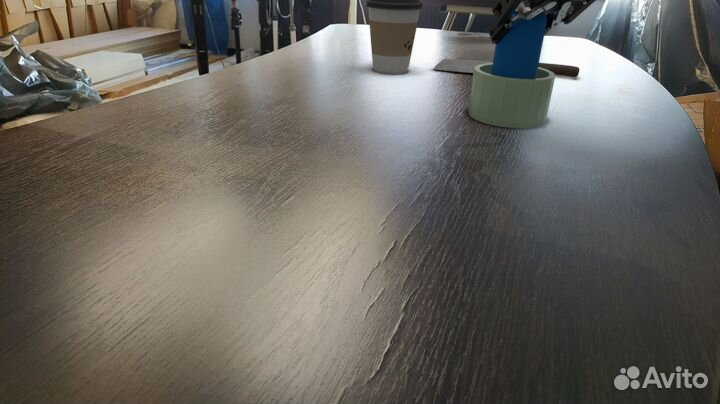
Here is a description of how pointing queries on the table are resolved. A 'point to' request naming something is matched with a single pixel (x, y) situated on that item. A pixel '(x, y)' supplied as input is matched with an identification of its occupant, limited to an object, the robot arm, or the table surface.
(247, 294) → the table surface
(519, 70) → the beverage can
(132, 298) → the table surface
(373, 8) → the coffee cup
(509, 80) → the canister
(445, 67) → the cleaver
